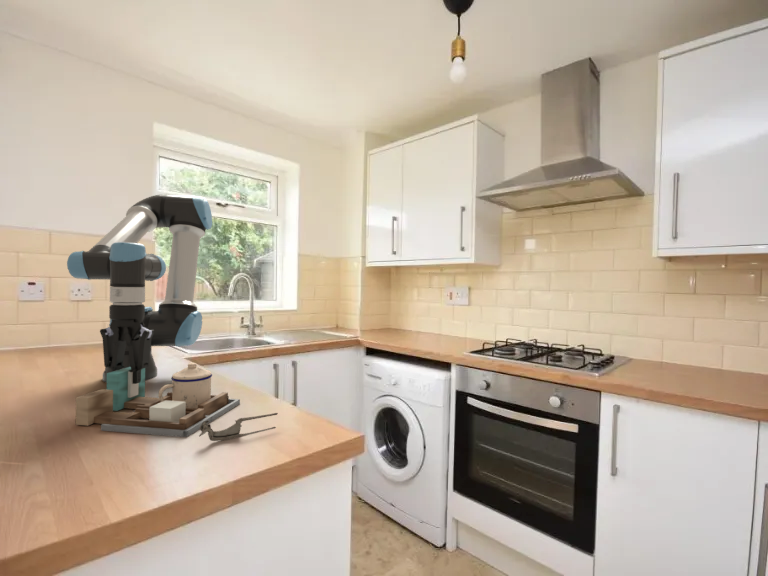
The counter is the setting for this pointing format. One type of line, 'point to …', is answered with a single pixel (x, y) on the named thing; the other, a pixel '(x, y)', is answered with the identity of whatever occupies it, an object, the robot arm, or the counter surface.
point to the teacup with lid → (190, 386)
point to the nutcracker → (229, 429)
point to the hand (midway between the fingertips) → (126, 395)
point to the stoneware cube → (167, 411)
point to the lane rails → (170, 431)
